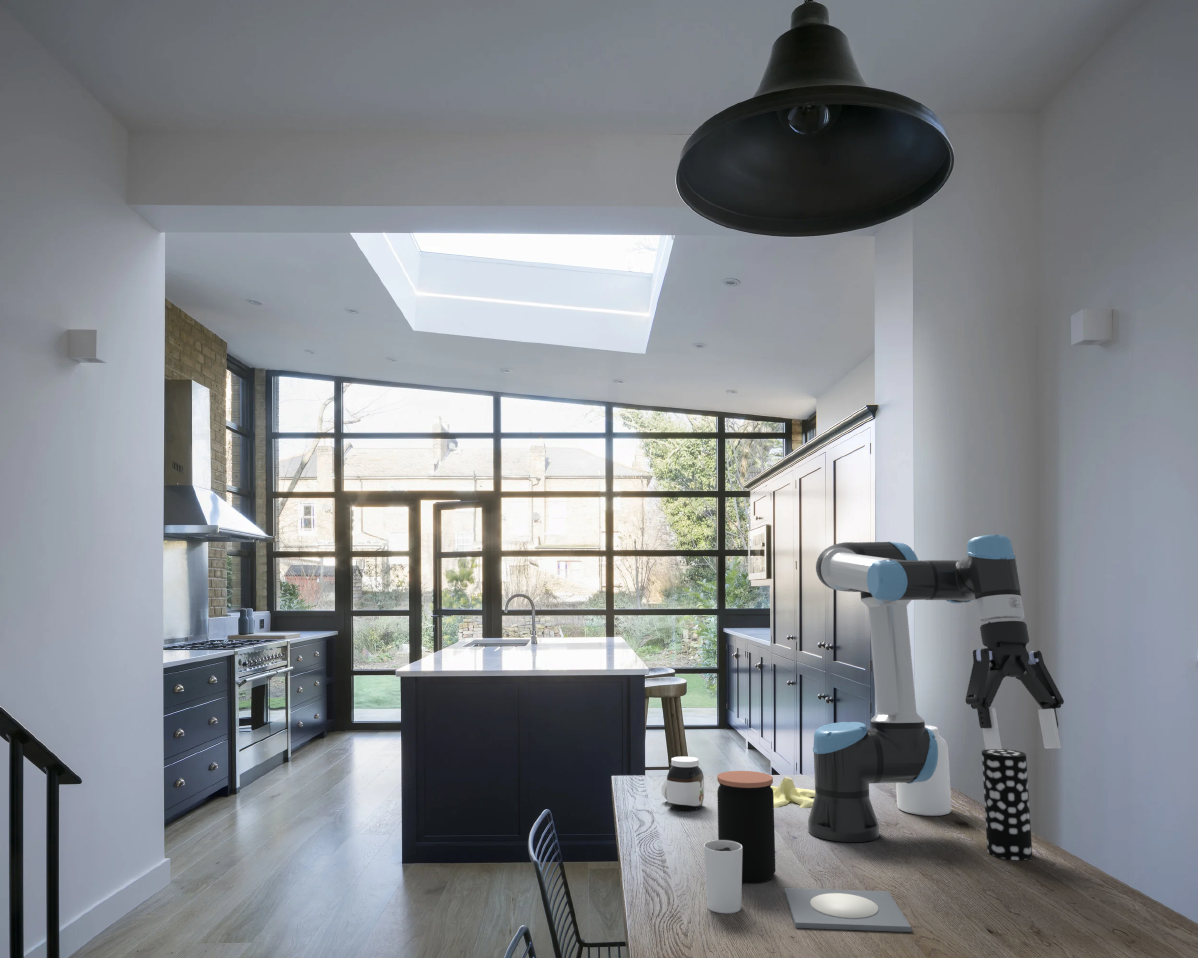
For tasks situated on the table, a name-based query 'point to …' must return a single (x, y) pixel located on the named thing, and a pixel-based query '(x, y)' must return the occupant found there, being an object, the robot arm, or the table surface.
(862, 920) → the board
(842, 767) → the robot arm
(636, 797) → the table surface
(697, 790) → the spread jar
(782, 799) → the cloth
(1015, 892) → the table surface
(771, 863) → the coffee jar
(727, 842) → the white cup
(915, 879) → the table surface
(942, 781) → the white bottle
